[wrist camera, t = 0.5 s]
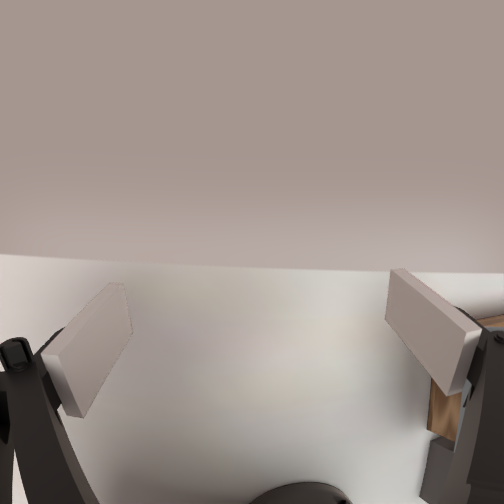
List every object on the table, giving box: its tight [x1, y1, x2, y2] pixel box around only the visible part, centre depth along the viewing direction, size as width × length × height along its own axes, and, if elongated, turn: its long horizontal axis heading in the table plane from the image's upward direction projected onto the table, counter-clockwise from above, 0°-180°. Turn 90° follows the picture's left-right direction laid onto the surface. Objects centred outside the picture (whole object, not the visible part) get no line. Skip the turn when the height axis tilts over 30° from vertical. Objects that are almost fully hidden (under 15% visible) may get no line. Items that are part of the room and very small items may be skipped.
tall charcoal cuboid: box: [419, 436, 455, 504], centre depth 29 cm, size 10×6×6 cm, turn 1°
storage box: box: [427, 314, 504, 442], centre depth 31 cm, size 14×18×8 cm
